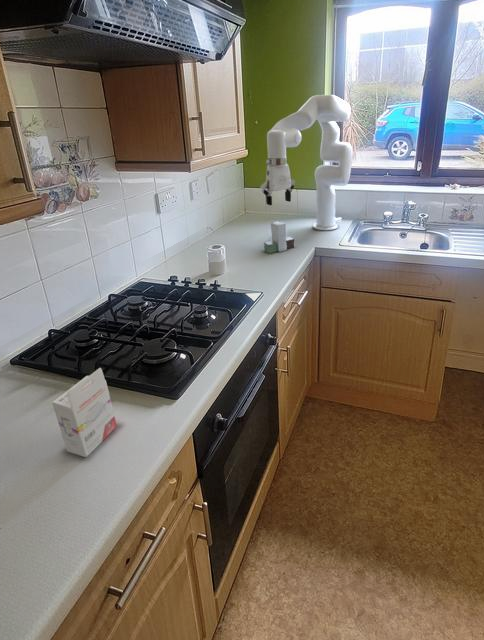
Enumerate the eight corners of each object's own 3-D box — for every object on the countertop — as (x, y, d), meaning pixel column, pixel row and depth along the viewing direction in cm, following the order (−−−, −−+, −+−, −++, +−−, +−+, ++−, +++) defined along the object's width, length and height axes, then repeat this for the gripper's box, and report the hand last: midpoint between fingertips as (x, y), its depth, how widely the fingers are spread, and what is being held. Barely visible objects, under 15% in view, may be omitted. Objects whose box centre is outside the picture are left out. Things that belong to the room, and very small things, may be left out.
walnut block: (289, 245, 186) (289, 236, 185) (294, 247, 183) (294, 238, 182) (282, 246, 184) (281, 238, 183) (287, 249, 181) (286, 240, 180)
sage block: (271, 249, 182) (271, 240, 180) (276, 251, 179) (276, 243, 177) (264, 251, 180) (264, 242, 178) (269, 253, 177) (269, 244, 175)
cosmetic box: (287, 250, 180) (286, 223, 175) (278, 252, 178) (277, 225, 173) (279, 246, 185) (279, 220, 180) (271, 248, 183) (270, 222, 178)
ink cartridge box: (98, 421, 84) (83, 361, 78) (117, 427, 82) (104, 366, 77) (65, 451, 77) (46, 388, 71) (85, 459, 75) (67, 394, 69)
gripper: (264, 165, 160) (266, 208, 167) (299, 160, 169) (300, 201, 175) (254, 163, 166) (257, 204, 173) (289, 158, 175) (290, 198, 181)
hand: (278, 202), depth 174 cm, fingers open, 9 cm apart
